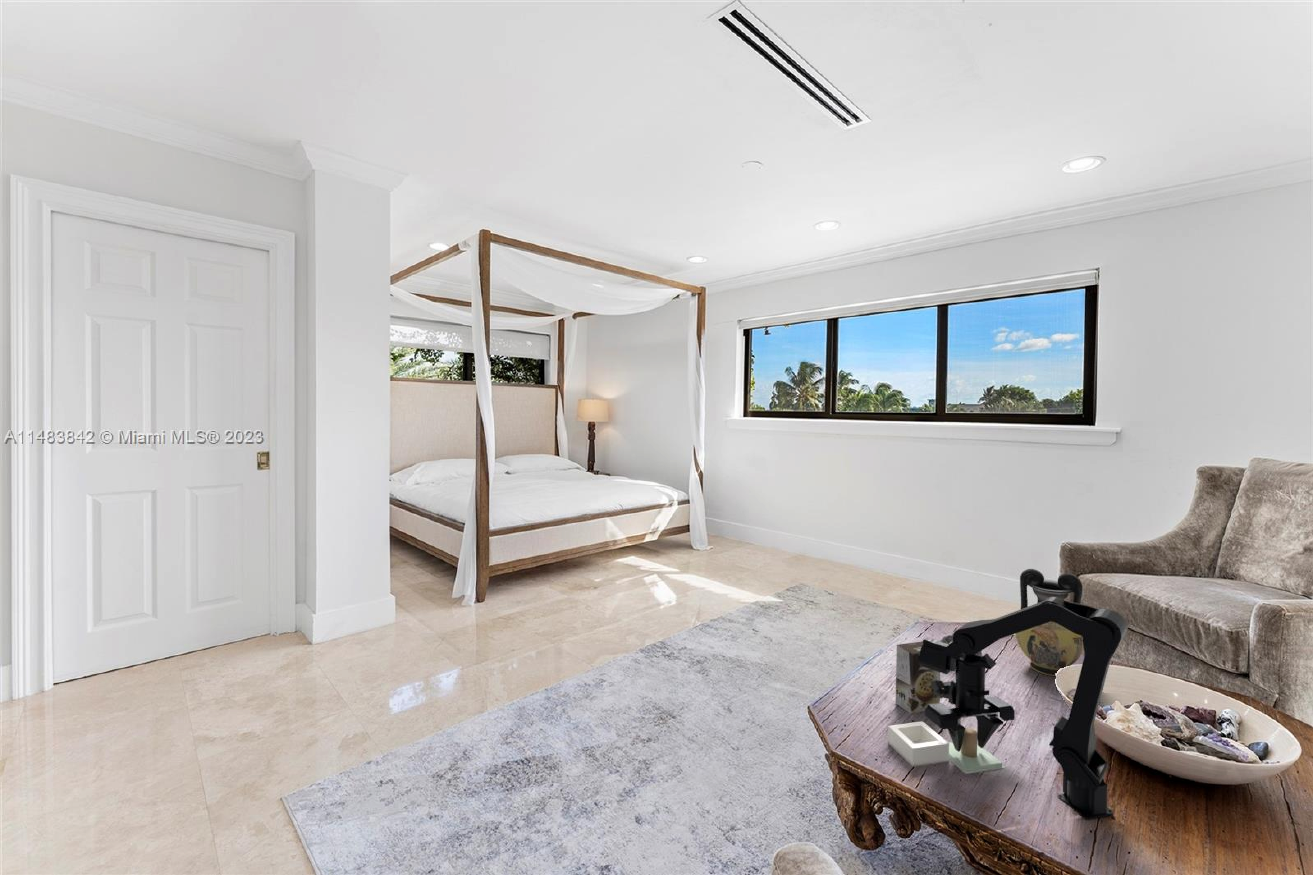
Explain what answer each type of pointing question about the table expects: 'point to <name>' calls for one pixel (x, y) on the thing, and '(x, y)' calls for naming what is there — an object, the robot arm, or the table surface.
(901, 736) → the white open tray
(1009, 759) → the table surface
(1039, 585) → the amphora
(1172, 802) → the table surface
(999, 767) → the mat
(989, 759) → the lid
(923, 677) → the coffee box
